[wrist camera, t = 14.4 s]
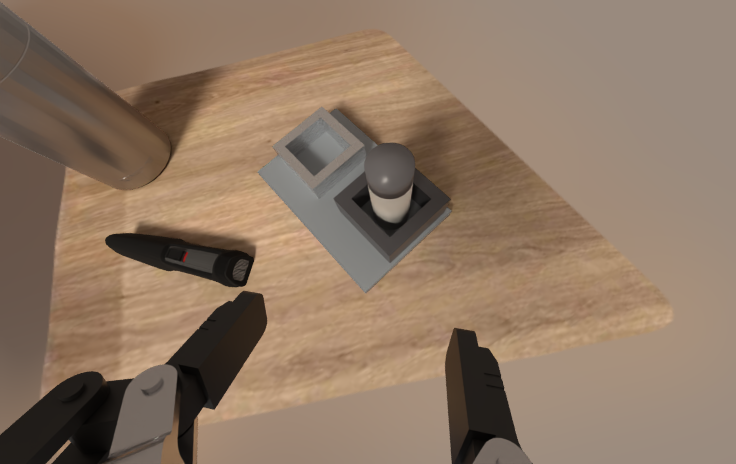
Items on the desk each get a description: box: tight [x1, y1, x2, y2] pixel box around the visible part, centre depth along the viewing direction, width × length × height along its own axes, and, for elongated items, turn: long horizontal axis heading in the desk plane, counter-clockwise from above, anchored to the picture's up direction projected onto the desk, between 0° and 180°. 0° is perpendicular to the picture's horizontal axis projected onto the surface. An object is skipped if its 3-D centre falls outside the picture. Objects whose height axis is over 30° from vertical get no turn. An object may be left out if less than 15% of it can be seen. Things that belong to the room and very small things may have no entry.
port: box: [333, 168, 451, 263], centre depth 27 cm, size 8×8×4 cm
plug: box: [364, 143, 415, 229], centre depth 24 cm, size 4×4×10 cm
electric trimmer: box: [105, 233, 254, 287], centre depth 29 cm, size 4×16×3 cm, turn 77°
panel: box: [258, 109, 452, 293], centre depth 30 cm, size 18×12×1 cm, turn 42°
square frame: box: [272, 107, 366, 199], centre depth 30 cm, size 7×7×2 cm
